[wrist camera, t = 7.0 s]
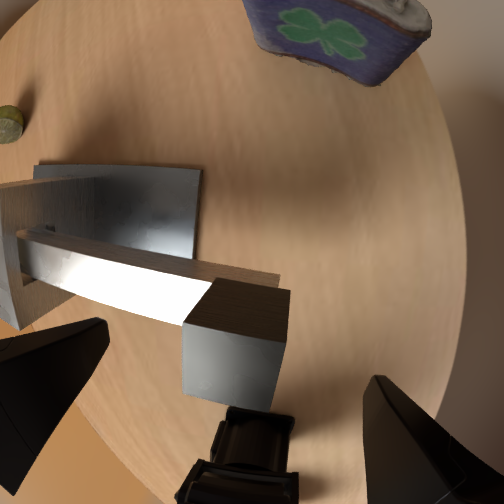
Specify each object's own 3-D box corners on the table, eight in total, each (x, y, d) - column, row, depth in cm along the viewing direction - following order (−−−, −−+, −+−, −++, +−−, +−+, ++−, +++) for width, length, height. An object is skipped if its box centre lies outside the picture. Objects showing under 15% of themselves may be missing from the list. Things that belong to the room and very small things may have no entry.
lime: (34, 115, 19) (-1, 113, 15) (18, 154, 21) (-17, 157, 16) (21, 99, 19) (-11, 96, 14) (5, 136, 20) (-26, 137, 16)
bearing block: (202, 170, 18) (116, 169, 9) (191, 314, 22) (130, 398, 12) (38, 165, 21) (-43, 174, 11) (41, 270, 24) (-28, 305, 14)
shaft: (291, 270, 13) (286, 343, 7) (281, 324, 14) (268, 412, 8) (27, 222, 15) (-38, 243, 10) (31, 261, 16) (-30, 289, 10)
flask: (251, 50, 16) (208, -47, 6) (265, 20, 15) (236, -80, 5) (379, 95, 15) (454, 28, 5) (389, 63, 14) (456, -14, 4)
